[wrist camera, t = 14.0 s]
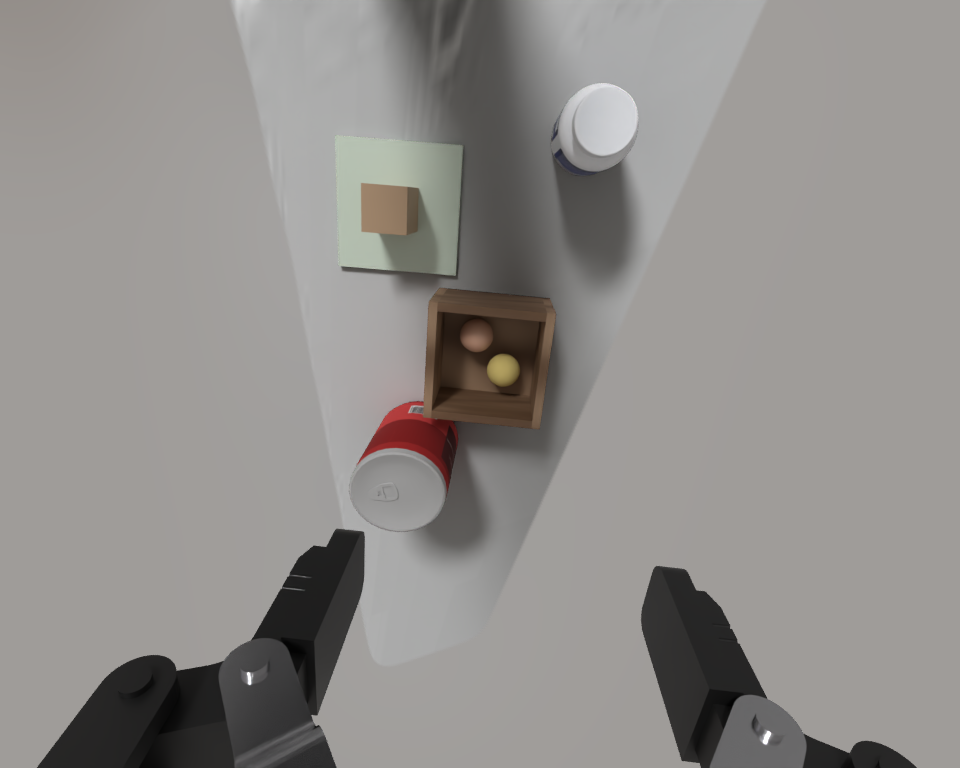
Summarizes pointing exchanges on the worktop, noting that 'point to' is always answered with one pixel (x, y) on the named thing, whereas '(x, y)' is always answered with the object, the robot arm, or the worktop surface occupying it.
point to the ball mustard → (503, 370)
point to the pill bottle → (595, 129)
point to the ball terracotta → (476, 335)
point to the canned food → (405, 470)
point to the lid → (398, 204)
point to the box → (487, 358)
